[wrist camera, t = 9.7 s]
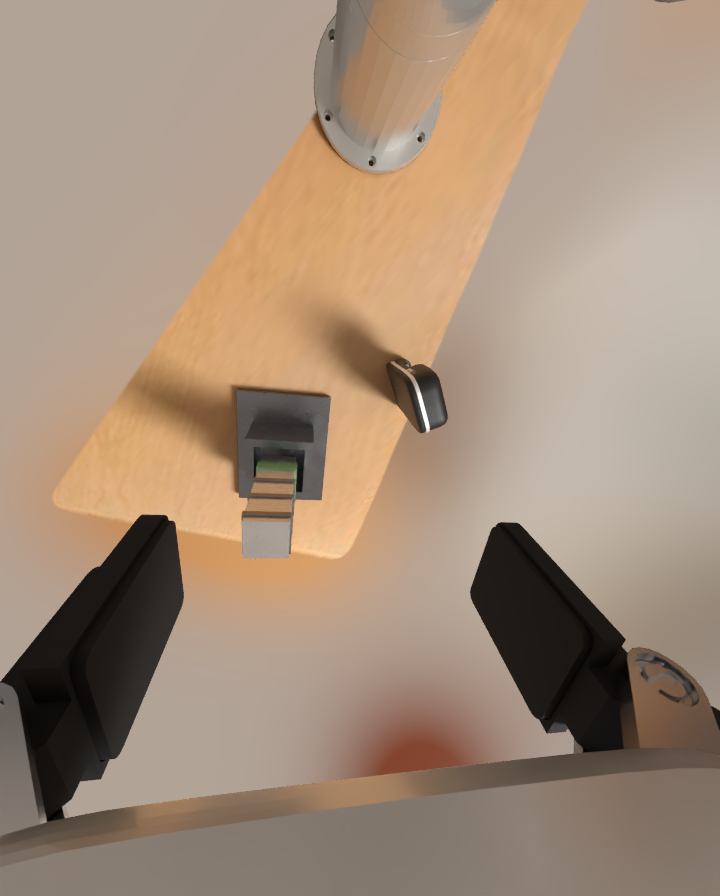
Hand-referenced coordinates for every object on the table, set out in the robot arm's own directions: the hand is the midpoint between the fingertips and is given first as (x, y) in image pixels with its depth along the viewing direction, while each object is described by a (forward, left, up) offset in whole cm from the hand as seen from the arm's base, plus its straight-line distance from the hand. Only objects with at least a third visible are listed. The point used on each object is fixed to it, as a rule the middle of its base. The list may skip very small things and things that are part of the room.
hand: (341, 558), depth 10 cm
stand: (+13, -4, -36) cm, 39 cm away
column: (+13, -4, -29) cm, 32 cm away
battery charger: (+2, +12, -36) cm, 38 cm away
